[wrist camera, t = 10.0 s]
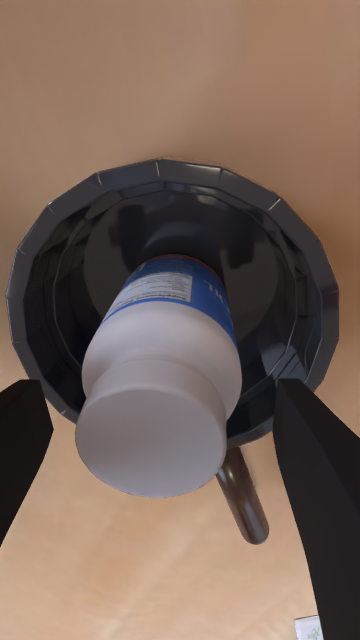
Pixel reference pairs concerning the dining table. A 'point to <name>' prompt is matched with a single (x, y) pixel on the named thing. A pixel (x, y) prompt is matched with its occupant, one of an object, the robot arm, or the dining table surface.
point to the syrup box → (309, 628)
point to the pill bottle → (161, 381)
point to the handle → (242, 497)
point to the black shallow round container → (183, 239)
